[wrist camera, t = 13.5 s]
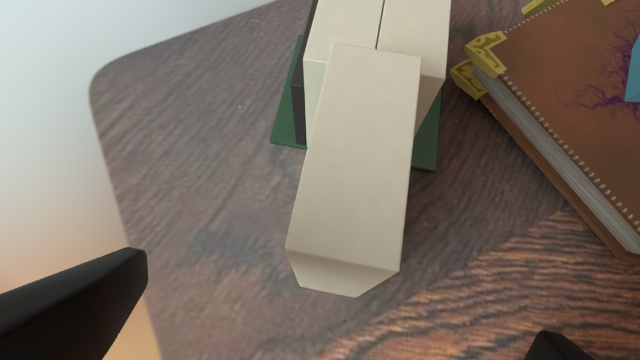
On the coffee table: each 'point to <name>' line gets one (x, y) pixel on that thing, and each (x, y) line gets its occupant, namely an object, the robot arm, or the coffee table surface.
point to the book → (571, 105)
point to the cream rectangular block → (356, 172)
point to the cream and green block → (376, 33)
